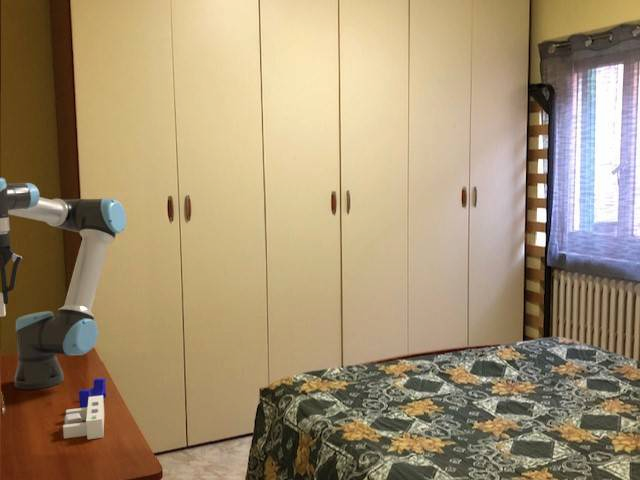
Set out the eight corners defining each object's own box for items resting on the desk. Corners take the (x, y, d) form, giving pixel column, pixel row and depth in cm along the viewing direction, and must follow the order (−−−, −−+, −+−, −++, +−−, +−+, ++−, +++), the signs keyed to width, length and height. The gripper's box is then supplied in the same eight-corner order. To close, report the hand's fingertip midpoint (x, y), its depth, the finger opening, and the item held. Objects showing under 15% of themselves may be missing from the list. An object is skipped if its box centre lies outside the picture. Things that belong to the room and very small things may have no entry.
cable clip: (92, 397, 221) (90, 378, 220) (106, 397, 220) (105, 378, 220) (75, 411, 209) (73, 391, 208) (90, 411, 209) (88, 391, 208)
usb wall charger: (67, 434, 191) (66, 420, 190) (64, 426, 197) (63, 412, 196) (82, 431, 192) (81, 417, 192) (79, 423, 199) (78, 409, 198)
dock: (67, 416, 204) (66, 398, 204) (104, 411, 207) (103, 394, 206) (63, 442, 185) (61, 423, 184) (103, 437, 188) (102, 418, 187)
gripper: (-33, 235, 195) (-26, 320, 198) (18, 233, 198) (25, 316, 201) (-28, 233, 202) (-21, 315, 205) (21, 230, 206) (28, 310, 208)
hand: (2, 315), depth 203 cm, fingers closed
